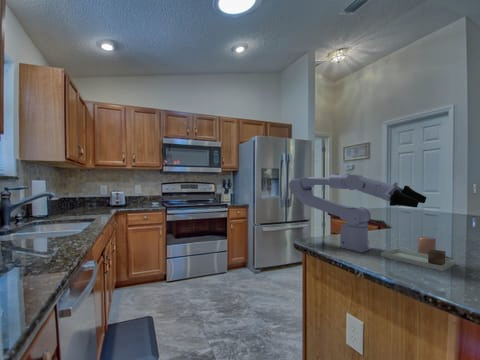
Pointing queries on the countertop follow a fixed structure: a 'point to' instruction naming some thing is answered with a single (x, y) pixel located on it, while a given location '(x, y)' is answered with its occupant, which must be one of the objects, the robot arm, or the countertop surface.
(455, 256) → the countertop surface
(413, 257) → the tray
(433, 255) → the walnut block
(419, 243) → the brown rounded cylinder
